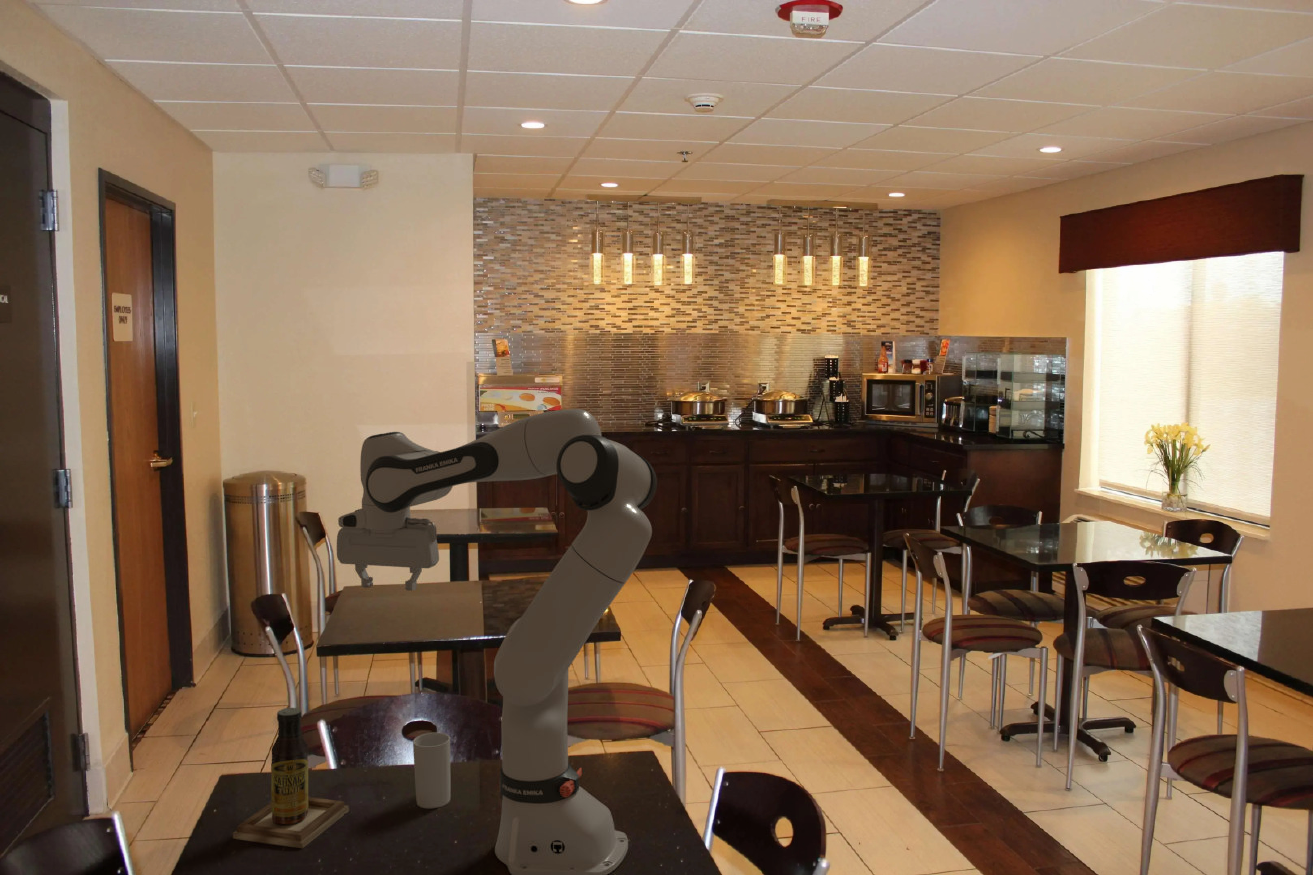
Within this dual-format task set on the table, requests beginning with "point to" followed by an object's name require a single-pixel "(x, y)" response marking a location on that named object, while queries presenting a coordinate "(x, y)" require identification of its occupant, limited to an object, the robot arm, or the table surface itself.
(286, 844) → the seat plate
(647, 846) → the table surface
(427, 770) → the mug
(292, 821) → the sauce bottle
